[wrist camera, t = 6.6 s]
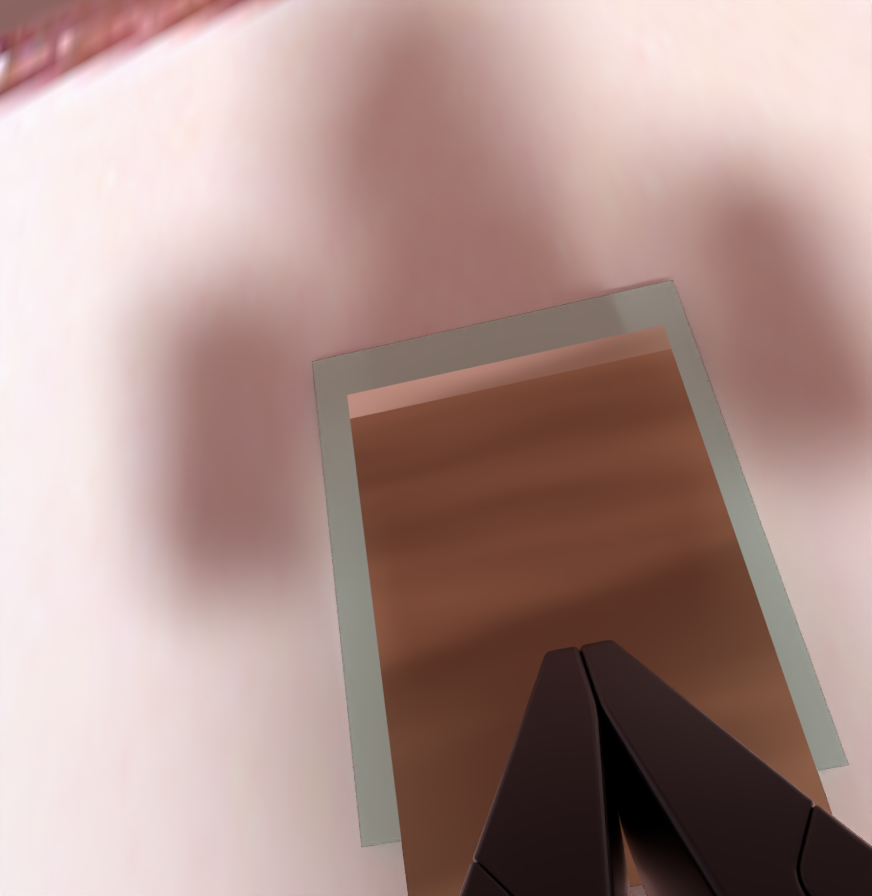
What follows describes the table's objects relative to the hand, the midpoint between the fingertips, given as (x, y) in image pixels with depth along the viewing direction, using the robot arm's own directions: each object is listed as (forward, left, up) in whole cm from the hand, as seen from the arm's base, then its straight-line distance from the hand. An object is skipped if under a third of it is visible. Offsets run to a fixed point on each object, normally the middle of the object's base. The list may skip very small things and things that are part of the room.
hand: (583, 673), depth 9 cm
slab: (-3, -1, -6) cm, 6 cm away
